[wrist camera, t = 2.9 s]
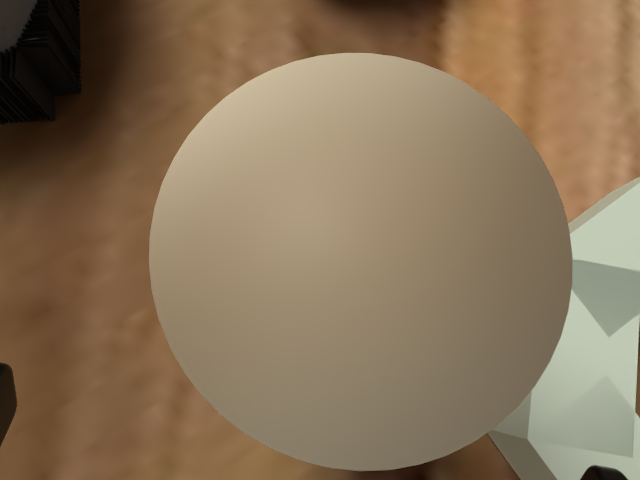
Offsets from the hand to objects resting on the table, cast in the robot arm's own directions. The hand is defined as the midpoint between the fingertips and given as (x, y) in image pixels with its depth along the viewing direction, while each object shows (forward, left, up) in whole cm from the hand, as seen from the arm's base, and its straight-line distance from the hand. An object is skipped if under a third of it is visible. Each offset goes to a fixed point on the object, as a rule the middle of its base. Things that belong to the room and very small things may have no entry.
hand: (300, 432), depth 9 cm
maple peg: (+1, -1, -10) cm, 10 cm away
